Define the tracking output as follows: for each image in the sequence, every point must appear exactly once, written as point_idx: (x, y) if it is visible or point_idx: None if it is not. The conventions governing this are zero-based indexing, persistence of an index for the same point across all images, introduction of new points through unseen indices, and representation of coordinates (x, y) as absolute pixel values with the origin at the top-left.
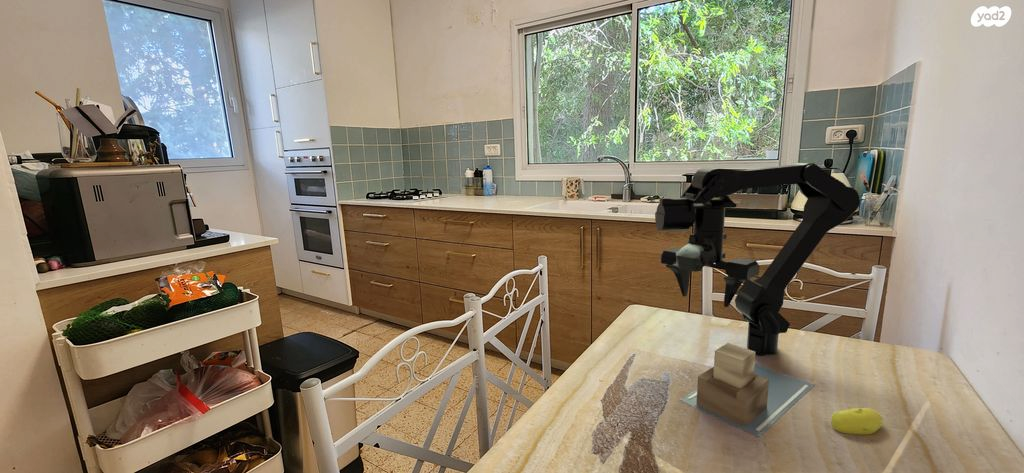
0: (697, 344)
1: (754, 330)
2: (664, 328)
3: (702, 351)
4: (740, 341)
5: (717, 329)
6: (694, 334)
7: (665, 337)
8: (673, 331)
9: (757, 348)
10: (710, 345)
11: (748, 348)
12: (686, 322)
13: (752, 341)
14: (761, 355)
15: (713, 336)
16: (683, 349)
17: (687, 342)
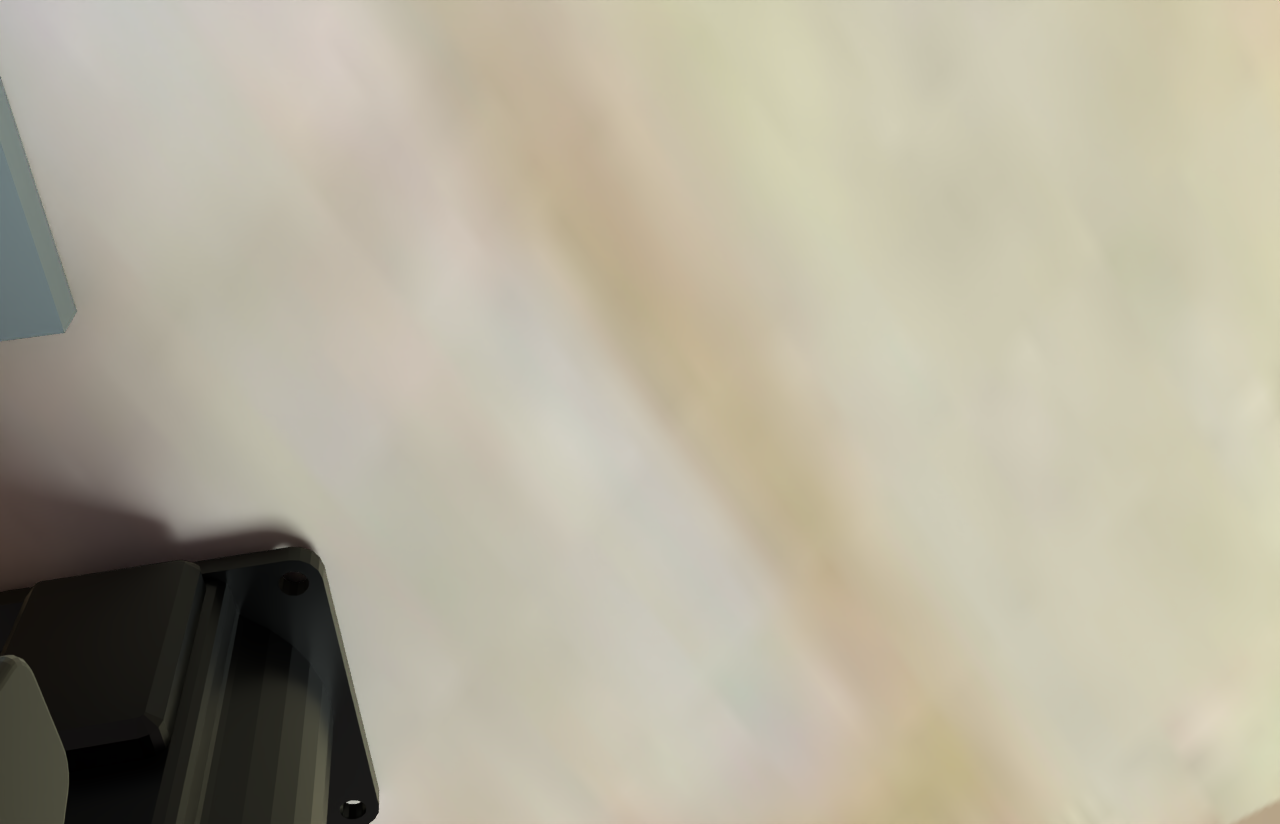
0: (743, 305)
1: (86, 820)
2: (1265, 351)
3: (581, 186)
4: (484, 738)
5: (813, 776)
6: (919, 499)
7: (1138, 140)
8: (1142, 370)
9: (50, 631)
10: (625, 409)
11: (175, 588)
12: (1140, 666)
13: (105, 670)
14: (27, 599)
15: (743, 620)
16: (778, 22)
17: (859, 251)
